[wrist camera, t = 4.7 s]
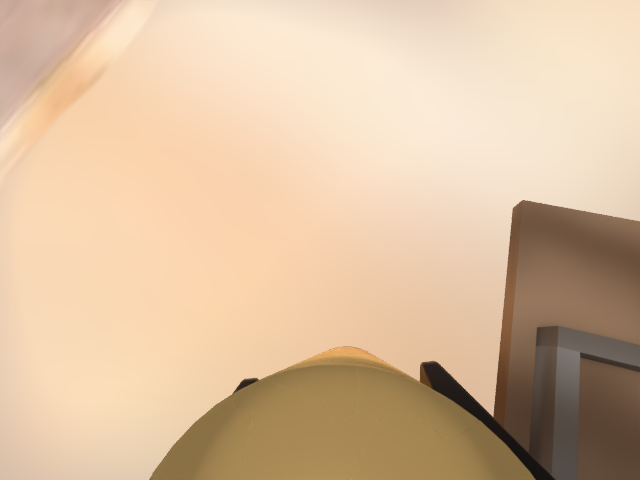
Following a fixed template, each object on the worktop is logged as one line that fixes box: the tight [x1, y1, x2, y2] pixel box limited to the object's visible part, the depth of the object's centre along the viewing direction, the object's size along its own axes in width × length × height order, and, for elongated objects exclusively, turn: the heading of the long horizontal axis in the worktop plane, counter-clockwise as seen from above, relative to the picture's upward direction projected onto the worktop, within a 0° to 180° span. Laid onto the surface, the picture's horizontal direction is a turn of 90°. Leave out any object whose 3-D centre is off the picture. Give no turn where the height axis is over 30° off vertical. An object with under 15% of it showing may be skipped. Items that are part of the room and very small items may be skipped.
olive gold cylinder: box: [150, 346, 535, 480], centre depth 9 cm, size 4×4×12 cm
